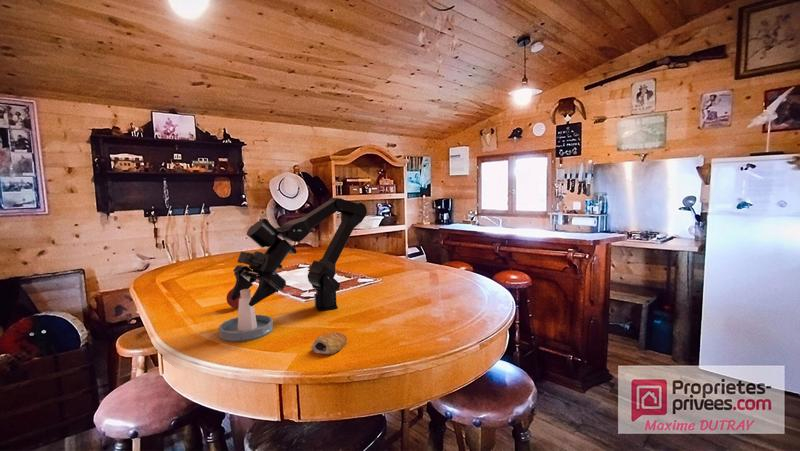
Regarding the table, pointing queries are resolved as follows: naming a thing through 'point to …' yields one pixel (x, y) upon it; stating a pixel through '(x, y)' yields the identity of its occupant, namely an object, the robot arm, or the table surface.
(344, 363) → the table surface
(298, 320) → the table surface
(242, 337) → the dish
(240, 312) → the pepper shaker
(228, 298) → the onion
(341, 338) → the pastry
